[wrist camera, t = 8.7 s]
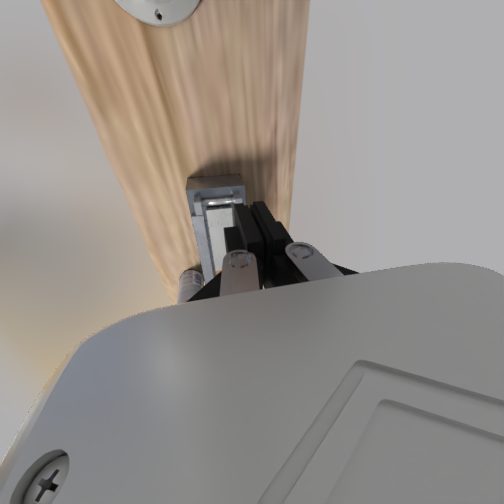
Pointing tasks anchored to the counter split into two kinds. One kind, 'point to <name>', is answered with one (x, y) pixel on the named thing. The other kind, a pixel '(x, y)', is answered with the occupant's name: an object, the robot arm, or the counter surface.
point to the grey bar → (218, 232)
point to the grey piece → (208, 196)
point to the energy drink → (189, 285)
